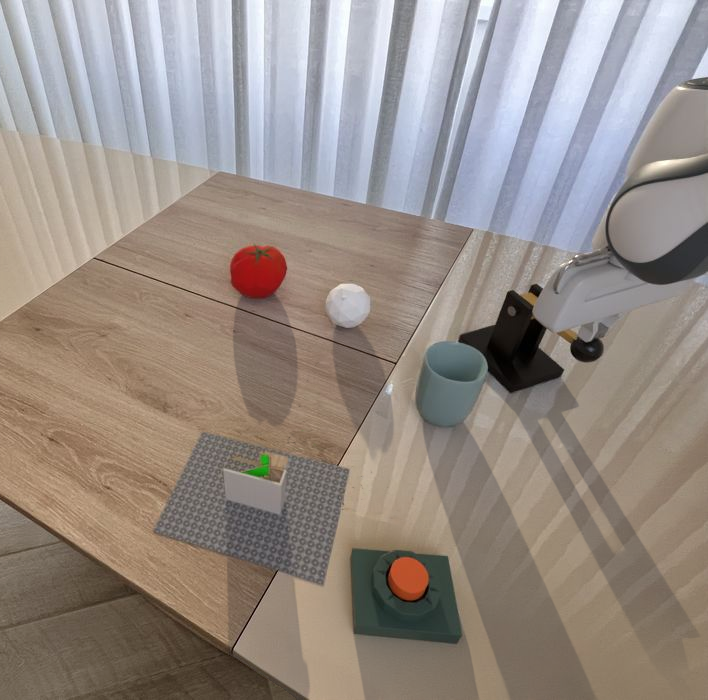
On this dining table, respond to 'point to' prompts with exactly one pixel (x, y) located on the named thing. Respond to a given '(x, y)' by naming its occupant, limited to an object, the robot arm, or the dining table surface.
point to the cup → (449, 383)
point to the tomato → (258, 271)
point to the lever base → (515, 345)
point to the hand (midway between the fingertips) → (590, 336)
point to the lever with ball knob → (575, 340)
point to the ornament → (347, 305)
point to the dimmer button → (408, 578)
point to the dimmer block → (398, 614)
